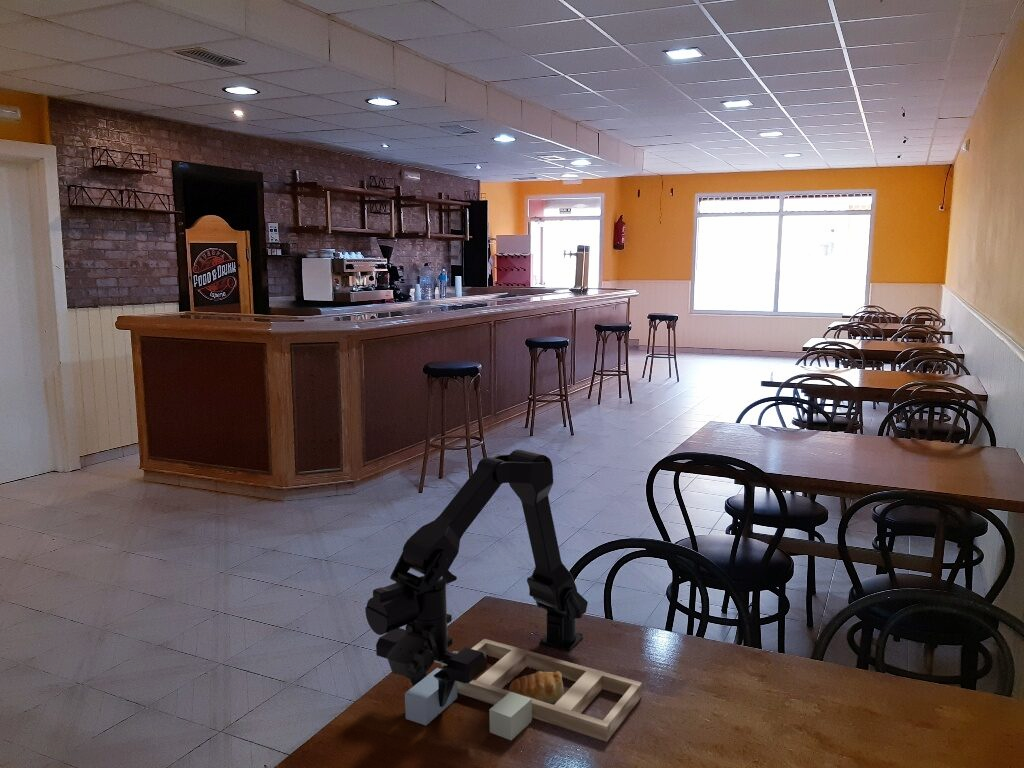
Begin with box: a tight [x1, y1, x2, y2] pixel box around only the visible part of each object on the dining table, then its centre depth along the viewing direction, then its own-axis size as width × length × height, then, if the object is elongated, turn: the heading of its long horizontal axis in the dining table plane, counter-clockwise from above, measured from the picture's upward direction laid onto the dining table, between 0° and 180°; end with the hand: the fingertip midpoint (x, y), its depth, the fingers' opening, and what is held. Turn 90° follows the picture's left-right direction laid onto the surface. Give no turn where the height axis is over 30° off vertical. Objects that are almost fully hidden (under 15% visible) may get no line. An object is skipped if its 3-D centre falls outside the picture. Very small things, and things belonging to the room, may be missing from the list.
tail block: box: [488, 692, 533, 741], centre depth 123 cm, size 6×4×4 cm, turn 146°
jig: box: [457, 638, 643, 743], centre depth 133 cm, size 14×31×2 cm, turn 59°
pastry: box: [508, 670, 565, 704], centre depth 132 cm, size 9×7×4 cm
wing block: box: [404, 667, 458, 726], centre depth 128 cm, size 9×4×4 cm, turn 151°
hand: (431, 702), depth 129 cm, fingers closed on wing block, 4 cm apart
